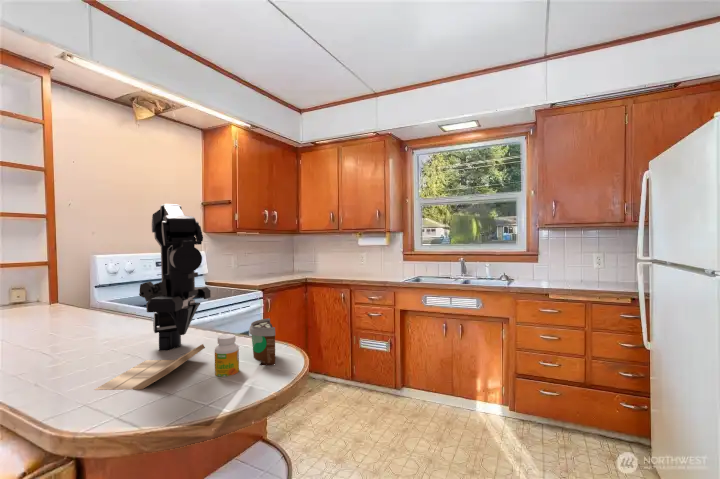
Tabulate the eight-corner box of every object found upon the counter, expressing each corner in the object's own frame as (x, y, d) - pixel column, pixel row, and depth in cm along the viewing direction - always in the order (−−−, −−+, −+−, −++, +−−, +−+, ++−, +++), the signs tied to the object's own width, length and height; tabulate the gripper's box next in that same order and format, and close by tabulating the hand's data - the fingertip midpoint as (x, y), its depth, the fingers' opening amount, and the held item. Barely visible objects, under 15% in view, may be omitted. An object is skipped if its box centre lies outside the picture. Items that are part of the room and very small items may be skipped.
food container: (248, 355, 100) (247, 319, 100) (270, 352, 102) (269, 317, 102) (250, 370, 88) (250, 330, 88) (276, 366, 90) (275, 327, 90)
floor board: (145, 364, 93) (145, 360, 93) (176, 364, 93) (175, 359, 93) (94, 395, 75) (94, 389, 75) (131, 394, 75) (131, 388, 75)
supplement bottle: (213, 382, 81) (212, 340, 81) (216, 374, 86) (215, 334, 86) (238, 379, 82) (237, 338, 82) (239, 371, 88) (239, 332, 87)
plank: (179, 363, 93) (176, 359, 93) (205, 347, 93) (202, 343, 93) (135, 393, 75) (132, 388, 75) (167, 374, 75) (164, 368, 75)
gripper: (168, 266, 94) (170, 325, 94) (120, 273, 75) (122, 347, 75) (210, 265, 93) (211, 324, 94) (173, 273, 75) (174, 346, 75)
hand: (182, 334), depth 84 cm, fingers closed
